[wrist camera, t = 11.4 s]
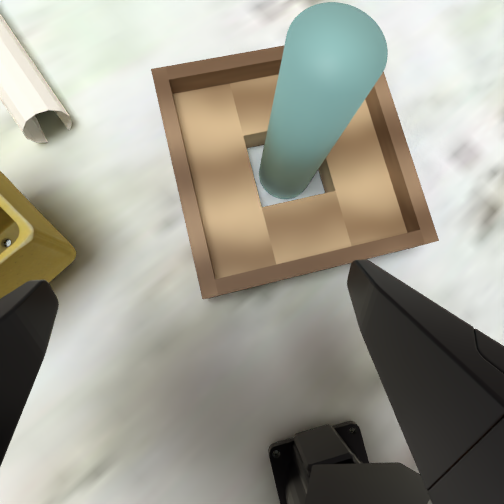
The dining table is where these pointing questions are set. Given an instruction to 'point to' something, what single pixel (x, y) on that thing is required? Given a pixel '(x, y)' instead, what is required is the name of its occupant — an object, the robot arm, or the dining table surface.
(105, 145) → the dining table surface
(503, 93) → the dining table surface
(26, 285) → the robot arm
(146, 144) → the dining table surface
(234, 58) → the bore box
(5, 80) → the white piece
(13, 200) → the flower pot
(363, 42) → the peg
